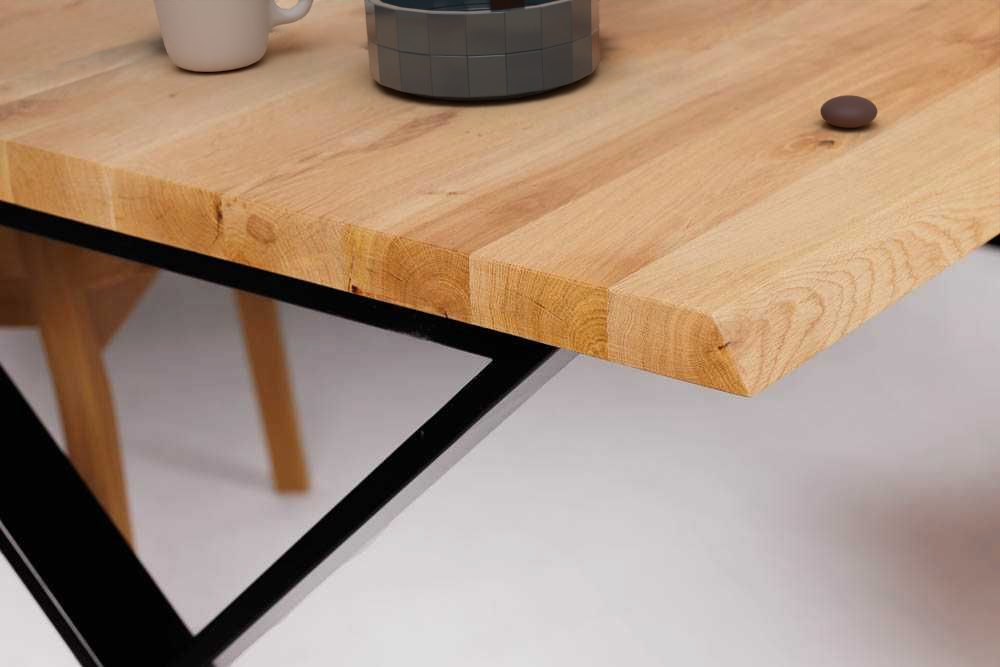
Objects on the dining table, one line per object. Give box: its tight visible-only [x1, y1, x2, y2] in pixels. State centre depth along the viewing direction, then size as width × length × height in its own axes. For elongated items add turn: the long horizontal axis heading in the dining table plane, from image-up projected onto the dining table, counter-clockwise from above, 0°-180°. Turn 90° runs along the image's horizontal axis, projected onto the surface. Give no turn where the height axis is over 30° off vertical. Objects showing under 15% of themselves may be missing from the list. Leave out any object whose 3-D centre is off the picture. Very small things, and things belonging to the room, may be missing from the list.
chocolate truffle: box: [820, 94, 878, 129], centre depth 78 cm, size 3×3×2 cm
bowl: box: [363, 0, 601, 102], centre depth 89 cm, size 14×14×6 cm
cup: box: [153, 0, 314, 73], centre depth 95 cm, size 11×8×8 cm
